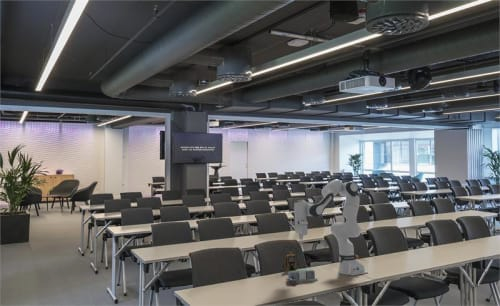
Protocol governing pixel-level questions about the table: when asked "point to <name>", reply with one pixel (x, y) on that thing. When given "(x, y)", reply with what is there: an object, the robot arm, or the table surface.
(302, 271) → the module
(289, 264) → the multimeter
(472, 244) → the table surface
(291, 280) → the relay
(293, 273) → the blue-grey dumbbell
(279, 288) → the table surface
